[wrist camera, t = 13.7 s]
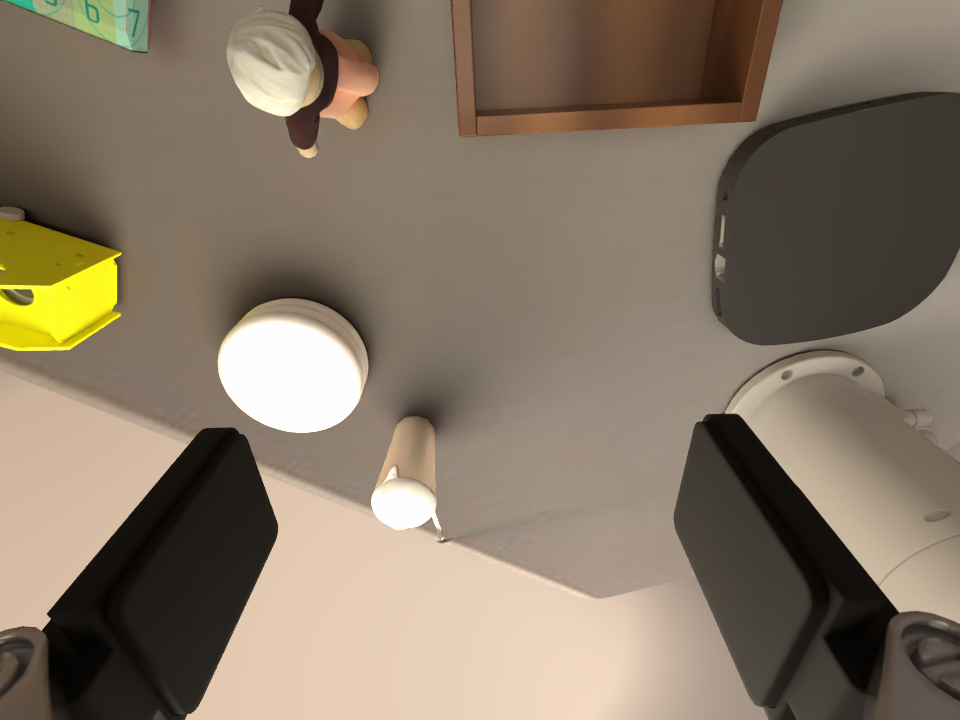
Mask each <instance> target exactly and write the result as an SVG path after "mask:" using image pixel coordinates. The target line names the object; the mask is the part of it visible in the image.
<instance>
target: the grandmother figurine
mask: <svg viewBox="0 0 960 720" xmlns="http://www.w3.org/2000/svg"><path fill="white" fill-rule="evenodd" d="M323 2H324V0H291V3H290V9H289V15H288V14H286V13H284V12H279V11H266V10H264V9H263V6H260V7H259V8H257V9H256V10H255V11H254V12H252V13H251V14H250V15H249V16H246V17H243V18H241V19H240V20H238V21H237V22H236V24H235V25H234V27H233V28H232V29H231V31H230V34H229V42H228V45H227V49H226V54H227V62H228V65H229V68H230V70H231V72H232V76H233V79H234V81H235V83H236V84H237V86H238V87H239V89H240V91H241V93H242V94H243V96H244V97H245V99H246V100H247V101H248V102H249V103H251V104H252V105H254V106H255V107H257V108H259V109H261V110H263V111H266V112H269V113H272V114H274V115H278V116H286V125H287V127H288V131H289V135H290V139H291V141H292V143H293V144H294V145H295V146H296V147H297V149H298V151H299V153H300V154H301V155H303V156H305V157H313V156H315V155H316V154H317V152H318V144H317V142H316V139H317V134H318V129H319V121H320V117H322V118H335V119H336V120H337V121H338V122H340V123H341V124H342V125H344V126H345V127H347V128H350V129H356V128H359V127H361V126H362V125H363V124H364V122H365V120H366V118H367V114H368V107H367V104H366V102H365V100H364V98H363V96H367V95H369V94H371V93H373V92H374V90H375V89H376V87H377V85H378V82H379V71H378V69H377V67H376V66H374V65H372V56H371V53H370V51H369V49H368V47H367V46H366V45H365V44H364V43H363V42H361V41H359V40H355V39H342V38H341V37H340V36H338V35H337V34H335V33H334V32H331V31H328V30H325V29H318V26H317V23H316V19H317V17H318V15H319V13H320V11H321V9H322V5H323Z"/></svg>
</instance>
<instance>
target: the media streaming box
mask: <svg viewBox="0 0 960 720" xmlns="http://www.w3.org/2000/svg"><path fill="white" fill-rule="evenodd" d="M959 248H960V93H952V92H917V93H911V94H905V95H899V96H893V97H887V98H882V99H876V100H871V101H866V102H861V103H856V104H852V105H847V106H843V107H838V108H834V109H830V110H825V111H821V112H817V113H813V114H809V115H805V116H802V117H798V118H794V119H790V120H787V121H783V122H780V123H776V124H773V125H770V126H768V127H766V128H764V129H762V130H760V131H759V132H757V133H756V134H754V135H753V136H752V137H750V138H749V139H748V140H747V141H746V142H745V143H744V144H742V146H741V147H740V148H739V149H738V150H737V151H736V152H735V154H734V155H733V156H732V158H731V159H730V161H729V162H728V164H727V166H726V168H725V170H724V172H723V174H722V177H721V179H720V182H719V187H718V196H717V205H716V216H715V228H714V243H713V266H712V305H713V310H714V312H715V314H716V316H717V318H718V319H719V320H720V322H721V323H722V324H723V325H725V326H726V327H727V328H728V329H729V330H730V331H731V332H732V333H733V334H734V335H735V336H737V337H738V338H740V339H741V340H743V341H745V342H748V343H752V344H756V345H778V344H789V343H799V342H806V341H814V340H820V339H826V338H831V337H836V336H841V335H846V334H850V333H855V332H859V331H863V330H867V329H870V328H874V327H877V326H880V325H884V324H887V323H890V322H892V321H894V320H896V319H898V318H900V317H901V316H903V315H905V314H906V313H908V312H909V311H911V310H912V309H913V308H915V307H916V306H917V305H919V304H920V303H921V302H922V301H923V300H925V299H926V298H927V297H928V296H929V295H930V294H931V293H932V292H933V291H934V290H935V289H936V287H937V286H938V285H939V284H940V283H941V281H942V280H943V279H944V277H945V276H946V274H947V272H948V271H949V269H950V267H951V265H952V263H953V261H954V259H955V257H956V255H957V252H958V250H959Z"/></svg>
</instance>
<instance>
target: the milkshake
mask: <svg viewBox="0 0 960 720" xmlns="http://www.w3.org/2000/svg"><path fill="white" fill-rule="evenodd" d="M371 503H372V508H373V510H374V513H375V515H376V516H377V518H378V519H379V520H381V521H382V522H384V523H385V524H387V525H389V526H391V527H392V528H394V529H397V530H401V529H405V528H409V527H417V526H419V525H421V524H423V523H424V522H426V521H427V520H428V519H429V518H430V517H431V516H432V518H433V521H434V523H435V526H436V529H437V532H438V535H439V537H440V540H442V539H443V538H444V536H443V533H442V530H441V528H440V525H439V522H438V519H437V517H436V514H435V509H436V504H437V502H436V485H435V457H434V428H433V426H432V425H431V423H430V422H429V421H428V420H427V419H424V418H422V417H419V416H411V417H405V418H404V419H403V420H401V421H400V422H399V423H398V424H397V426H396V429H395V432H394V435H393V438H392V441H391V444H390V447H389V450H388V453H387V456H386V459H385V462H384V465H383V468H382V471H381V473H380V476H379V479H378V481H377V484H376V487H375V489H374V492H373V495H372V500H371Z"/></svg>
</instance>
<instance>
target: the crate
mask: <svg viewBox="0 0 960 720" xmlns="http://www.w3.org/2000/svg"><path fill="white" fill-rule="evenodd" d="M782 2H783V0H451V11H452V27H453V43H454V59H455V75H456V91H457V107H458V123H459V136H460V137H472V136H477V135H478V136H491V135H510V134H529V133H547V132H566V131H584V130H603V129H622V128H640V127H659V126H678V125H696V124H715V123H733V122H752V121H756V117H757V113H758V108H759V104H760V100H761V95H762V91H763V86H764V82H765V77H766V73H767V69H768V64H769V60H770V55H771V51H772V46H773V42H774V38H775V33H776V29H777V24H778V20H779V15H780V11H781V7H782Z"/></svg>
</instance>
